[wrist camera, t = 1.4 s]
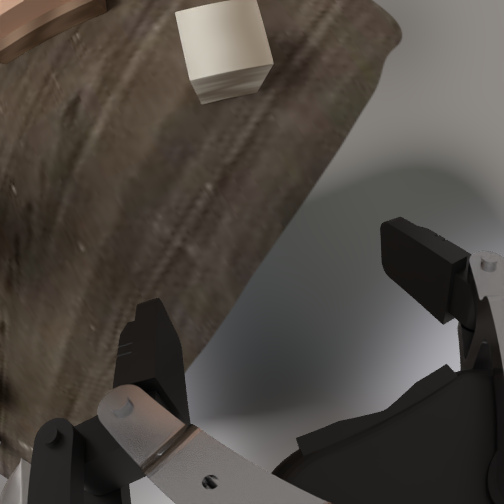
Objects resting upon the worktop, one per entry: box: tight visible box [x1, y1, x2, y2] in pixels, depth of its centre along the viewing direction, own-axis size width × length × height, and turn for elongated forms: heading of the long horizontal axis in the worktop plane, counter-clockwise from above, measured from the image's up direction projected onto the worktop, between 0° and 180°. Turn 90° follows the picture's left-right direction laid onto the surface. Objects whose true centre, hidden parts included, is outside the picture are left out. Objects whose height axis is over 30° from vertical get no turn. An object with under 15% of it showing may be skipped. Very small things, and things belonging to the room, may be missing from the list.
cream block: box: [175, 0, 274, 104], centre depth 20 cm, size 5×5×10 cm
